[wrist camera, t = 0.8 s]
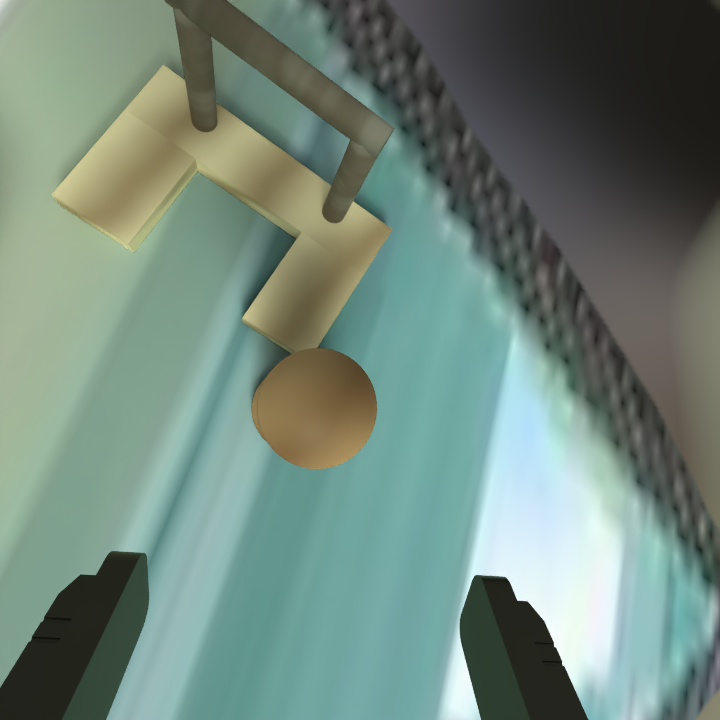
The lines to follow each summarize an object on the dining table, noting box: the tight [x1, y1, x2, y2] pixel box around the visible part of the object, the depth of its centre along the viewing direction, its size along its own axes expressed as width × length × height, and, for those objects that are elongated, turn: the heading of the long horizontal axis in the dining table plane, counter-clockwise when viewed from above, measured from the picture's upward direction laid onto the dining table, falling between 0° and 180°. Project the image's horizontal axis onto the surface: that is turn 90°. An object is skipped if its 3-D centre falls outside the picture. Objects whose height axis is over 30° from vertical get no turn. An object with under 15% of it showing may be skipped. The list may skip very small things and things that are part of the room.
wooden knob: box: [252, 348, 377, 469], centre depth 27 cm, size 6×6×10 cm
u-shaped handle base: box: [52, 0, 394, 354], centre depth 26 cm, size 18×11×12 cm, turn 59°
